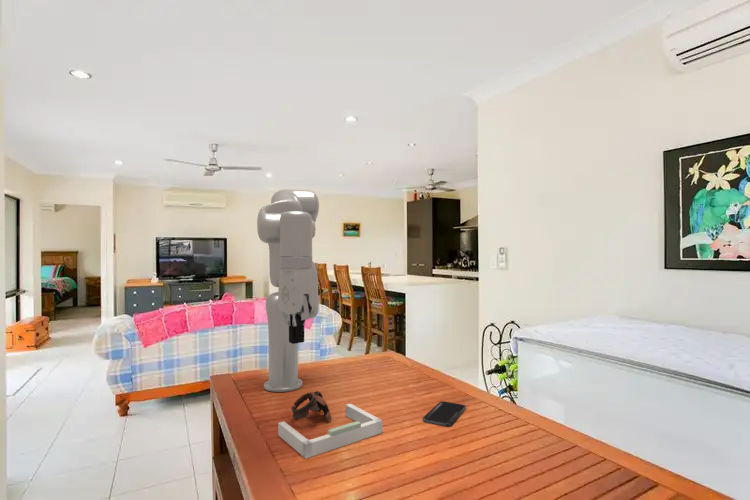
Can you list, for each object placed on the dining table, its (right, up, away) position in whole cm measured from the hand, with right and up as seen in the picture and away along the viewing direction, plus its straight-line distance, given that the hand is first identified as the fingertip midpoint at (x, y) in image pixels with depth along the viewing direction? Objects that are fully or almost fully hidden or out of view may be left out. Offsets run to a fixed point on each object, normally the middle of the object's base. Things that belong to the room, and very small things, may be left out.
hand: (296, 342), depth 96 cm
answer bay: (+7, -23, +4) cm, 25 cm away
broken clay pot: (+2, -24, +14) cm, 28 cm away
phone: (+38, -24, +16) cm, 47 cm away
